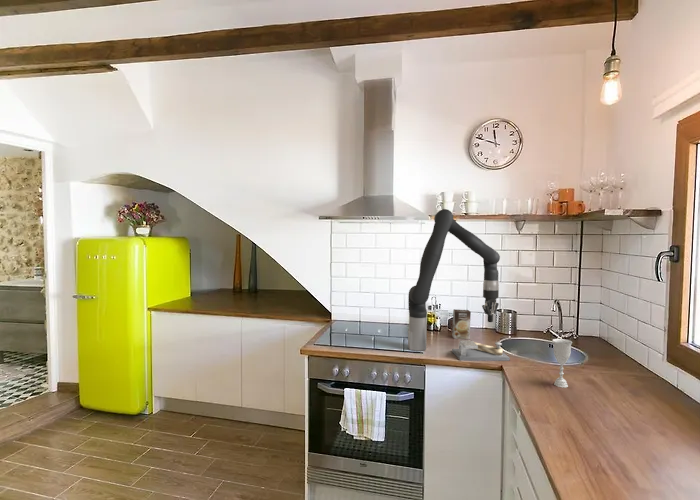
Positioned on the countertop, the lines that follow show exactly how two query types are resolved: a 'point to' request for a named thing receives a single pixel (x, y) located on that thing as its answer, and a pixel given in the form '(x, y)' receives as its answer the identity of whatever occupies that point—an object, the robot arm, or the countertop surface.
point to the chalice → (561, 358)
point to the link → (489, 349)
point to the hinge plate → (481, 355)
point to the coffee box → (461, 324)
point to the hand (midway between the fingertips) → (490, 321)
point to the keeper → (466, 346)
